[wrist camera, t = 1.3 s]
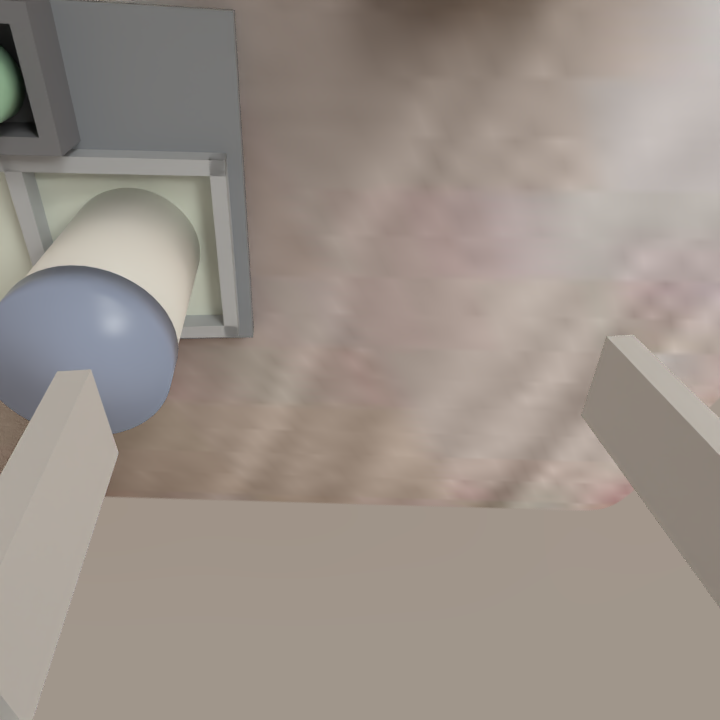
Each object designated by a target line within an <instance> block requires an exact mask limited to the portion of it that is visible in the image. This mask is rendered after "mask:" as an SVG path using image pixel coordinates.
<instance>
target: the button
mask: <svg viewBox="0 0 720 720" xmlns="http://www.w3.org/2000/svg"><path fill="white" fill-rule="evenodd" d="M24 98H25V84H24V79H23V76H22V73H21V71H20V69H19V67H18V65H17V64H16V62H15V61H14V59H13V58H12V56H11V55H10V54H9V53H8V52H7V51H6V50H5V49H4V48H3V47H2V46H1V45H0V123H2V122H4V121H5V120H7V119H9V118H11V117H13V116H14V115H15V114H17V112H18V111H19V110H20V108H21V107H22V105H23V102H24Z"/></svg>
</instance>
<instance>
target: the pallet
mask: <svg viewBox="0 0 720 720" xmlns="http://www.w3.org/2000/svg"><path fill="white" fill-rule="evenodd" d="M0 45H1V46H2V47H3V48H4V49H5V50H6V51H7V52H8V53H9V54H10V55H11V56H12V58H13V59H14V61H15V62H16V64H17V65H18V67H19V69H20V71H21V73H22V76H23V79H24V84H25V98H24V102H23V105H22V107H21V108H20V110H19V111H18V112H17V114H15V115H14V116H13V117H11V118H9V119H7V120H5V121H4V122H2V123H0V301H1V300H2V299H3V298H4V296H5V295H6V294H7V293H8V292H9V291H10V289H11V288H12V287H13V286H14V285H15V284H17V283H18V282H19V281H20V280H22V279H23V278H24V277H25V276H26V275H27V274H28V272H29V271H30V270H31V269H32V268H33V266H34V265H35V264H36V263H37V262H38V260H39V259H40V258H41V257H42V256H43V254H44V253H45V252H46V251H47V250H48V248H49V247H50V246H51V245H52V244H53V242H54V241H55V240H56V239H57V238H58V236H59V235H60V234H61V233H62V232H63V230H64V229H65V228H66V227H67V225H68V224H69V223H70V222H71V221H72V219H73V218H74V217H75V216H76V215H77V213H78V212H79V211H80V210H81V209H82V207H83V206H84V205H85V204H86V203H87V202H88V201H89V200H90V199H92V198H93V197H95V196H96V195H98V194H100V193H102V192H104V191H108V190H111V189H116V188H138V189H143V190H147V191H150V192H153V193H156V194H158V195H160V196H162V197H164V198H165V199H167V200H169V201H170V202H172V203H173V204H174V205H176V206H177V207H178V208H179V209H180V210H181V211H182V212H183V213H184V214H185V215H186V217H187V218H188V219H189V221H190V222H191V224H192V225H193V227H194V229H195V231H196V233H197V236H198V240H199V244H200V262H199V266H198V270H197V274H196V277H195V281H194V285H193V289H192V293H191V297H190V301H189V305H188V309H187V313H186V317H185V320H184V324H183V328H182V332H181V336H180V339H196V338H245V337H253V328H254V327H253V311H252V294H251V277H250V261H249V244H248V227H247V211H246V194H245V177H244V160H243V144H242V127H241V110H240V94H239V77H238V60H237V44H236V27H235V10H225V9H209V8H193V7H178V6H162V5H147V4H131V3H115V2H100V1H84V0H0Z"/></svg>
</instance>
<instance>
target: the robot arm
mask: <svg viewBox="0 0 720 720" xmlns="http://www.w3.org/2000/svg"><path fill="white" fill-rule="evenodd" d="M581 416H582V417H583V419H584V420H585V421H586V423H587V424H588V426H589V427H590V428H591V430H592V431H593V432H594V434H595V435H596V437H597V438H598V439H599V441H600V442H601V444H602V445H603V446H604V448H605V449H606V451H607V452H608V453H609V455H610V456H611V457H612V459H613V460H614V462H615V463H616V464H617V466H618V467H619V469H620V470H621V471H622V473H623V474H624V476H625V477H626V478H627V480H628V481H629V483H630V484H631V485H632V487H633V488H634V489H635V491H636V492H637V494H638V495H639V496H640V498H641V499H642V500H643V502H644V503H645V505H646V506H647V507H648V509H649V510H650V512H651V513H652V514H653V516H654V517H655V519H656V520H657V521H658V523H659V524H660V526H661V527H662V528H663V530H664V531H665V532H666V534H667V535H668V537H669V538H670V539H671V541H672V542H673V544H674V545H675V546H676V548H677V549H678V551H679V552H680V553H681V555H682V556H683V558H684V559H685V560H686V562H687V563H688V564H689V566H690V567H691V569H692V570H693V571H694V573H695V574H696V575H697V577H698V578H699V580H700V581H701V582H702V584H703V585H704V587H705V588H706V589H707V591H708V592H709V594H710V595H711V596H712V598H713V599H714V601H715V602H716V603H717V605H718V606H719V607H720V418H718V416H717V415H716V414H714V413H713V412H712V411H711V410H710V409H709V408H708V407H707V406H706V405H705V404H704V403H703V402H702V401H701V400H700V399H699V398H698V397H697V396H696V395H695V394H694V393H693V392H692V391H691V390H690V389H689V388H688V387H687V386H686V385H685V384H684V383H682V382H681V381H680V380H679V379H678V378H677V377H676V376H675V375H674V374H673V373H672V372H671V371H670V370H669V369H668V368H667V367H666V366H665V365H664V364H663V363H662V362H661V361H660V360H659V359H658V358H657V357H656V356H655V355H654V354H653V353H652V352H650V351H649V350H648V349H647V348H646V347H645V346H644V345H643V344H642V343H641V342H640V341H639V340H638V339H637V338H636V337H635V336H634V335H621V336H606V340H605V343H604V346H603V349H602V352H601V355H600V358H599V361H598V364H597V367H596V371H595V374H594V377H593V380H592V383H591V386H590V389H589V392H588V395H587V399H586V402H585V405H584V408H583V411H582V414H581ZM118 454H119V453H118V450H117V447H116V444H115V440H114V437H113V434H112V431H111V428H110V425H109V422H108V419H107V416H106V413H105V410H104V407H103V404H102V401H101V398H100V395H99V392H98V389H97V386H96V383H95V380H94V377H93V374H92V371H91V369H88V370H72V371H57V373H56V374H55V376H54V378H53V380H52V382H51V384H50V385H49V387H48V389H47V391H46V393H45V395H44V396H43V398H42V400H41V402H40V404H39V405H38V407H37V409H36V411H35V413H34V415H33V416H32V418H31V420H30V422H29V424H28V426H27V427H26V429H25V431H24V433H23V435H22V436H21V438H20V440H19V442H18V444H17V446H16V447H15V449H14V451H13V453H12V455H11V457H10V458H9V460H8V462H7V464H6V466H5V467H4V469H3V471H2V473H1V475H0V720H33V717H34V714H35V711H36V708H37V705H38V702H39V699H40V696H41V693H42V689H43V686H44V683H45V680H46V677H47V674H48V671H49V667H50V664H51V662H52V658H53V655H54V652H55V649H56V646H57V643H58V640H59V636H60V634H61V630H62V627H63V624H64V621H65V618H66V615H67V612H68V609H69V606H70V603H71V599H72V596H73V593H74V590H75V587H76V584H77V581H78V578H79V574H80V571H81V568H82V565H83V562H84V559H85V556H86V553H87V550H88V547H89V544H90V540H91V537H92V534H93V531H94V528H95V525H96V521H97V519H98V516H99V513H100V509H101V506H102V503H103V500H104V497H105V494H106V491H107V488H108V485H109V481H110V478H111V475H112V472H113V469H114V466H115V463H116V460H117V457H118Z"/></svg>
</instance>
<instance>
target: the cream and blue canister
mask: <svg viewBox="0 0 720 720" xmlns="http://www.w3.org/2000/svg"><path fill="white" fill-rule="evenodd" d="M199 262H200V244H199V240H198V236H197V233H196V231H195V229H194V227H193V225H192V224H191V222H190V221H189V219H188V218H187V217H186V215H185V214H184V213H183V212H182V211H181V210H180V209H179V208H178V207H177V206H176V205H174V204H173V203H172V202H170V201H169V200H167V199H165V198H164V197H162V196H160V195H158V194H156V193H153V192H150V191H147V190H143V189H138V188H116V189H111V190H108V191H104V192H102V193H100V194H98V195H96V196H95V197H93V198H92V199H90V200H89V201H88V202H87V203H86V204H85V205H84V206H83V207H82V209H81V210H80V211H79V212H78V213H77V215H76V216H75V217H74V218H73V219H72V221H71V222H70V223H69V224H68V225H67V227H66V228H65V229H64V230H63V232H62V233H61V234H60V235H59V236H58V238H57V239H56V240H55V241H54V242H53V244H52V245H51V246H50V247H49V248H48V250H47V251H46V252H45V253H44V254H43V256H42V257H41V258H40V259H39V260H38V262H37V263H36V264H35V265H34V266H33V268H32V269H31V270H30V271H29V272H28V274H27V275H26V276H25V277H24V278H23V279H22V280H20V281H19V282H18V283H17V284H15V285H14V286H13V287H12V288H11V289H10V291H9V292H8V293H7V294H6V295H5V296H4V298H3V299H2V300H1V301H0V400H1V401H2V402H3V403H4V404H5V405H6V406H8V407H9V408H10V409H12V410H13V411H14V412H16V413H17V414H19V415H20V416H22V417H24V418H25V419H27V420H29V421H30V420H31V418H32V416H33V415H34V413H35V411H36V409H37V407H38V405H39V404H40V402H41V400H42V398H43V396H44V395H45V393H46V391H47V389H48V387H49V385H50V384H51V382H52V380H53V378H54V376H55V374H56V373H57V371H72V370H88V369H91V371H92V374H93V377H94V380H95V383H96V386H97V389H98V392H99V395H100V398H101V401H102V404H103V407H104V410H105V413H106V416H107V419H108V422H109V425H110V428H111V431H112V434H114V433H119V432H123V431H126V430H129V429H131V428H134V427H136V426H138V425H140V424H142V423H143V422H145V421H147V420H148V419H149V418H150V417H152V416H153V415H154V414H155V413H156V412H157V411H158V410H159V409H160V407H161V406H162V405H163V403H164V402H165V400H166V397H167V395H168V393H169V389H170V386H171V382H172V378H173V374H174V370H175V366H176V362H177V358H178V344H179V340H180V336H181V332H182V328H183V324H184V320H185V317H186V313H187V309H188V305H189V301H190V297H191V293H192V289H193V285H194V281H195V277H196V274H197V270H198V266H199Z"/></svg>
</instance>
